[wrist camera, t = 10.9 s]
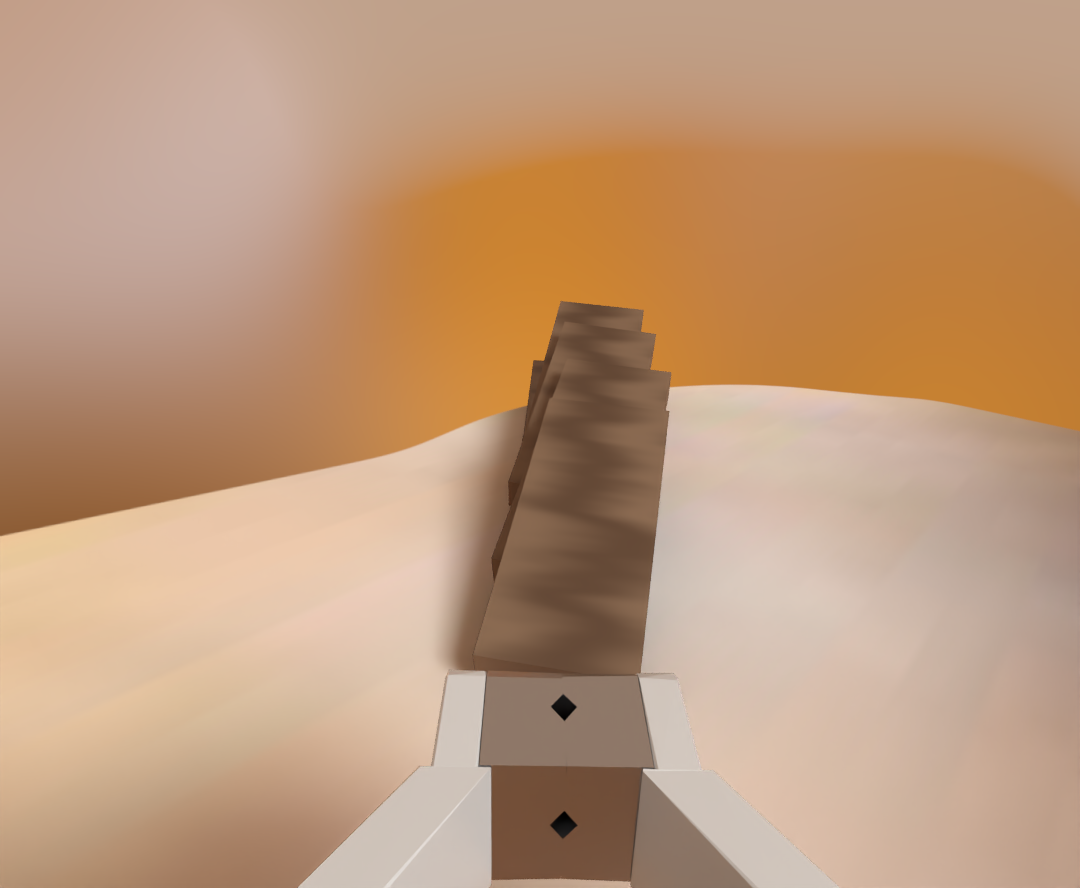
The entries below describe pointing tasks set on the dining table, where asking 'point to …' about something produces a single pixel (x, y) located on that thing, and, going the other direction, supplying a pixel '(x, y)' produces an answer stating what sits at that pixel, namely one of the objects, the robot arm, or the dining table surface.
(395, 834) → the robot arm
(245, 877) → the dining table surface
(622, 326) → the domino
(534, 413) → the domino
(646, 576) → the domino
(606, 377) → the domino
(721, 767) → the dining table surface
